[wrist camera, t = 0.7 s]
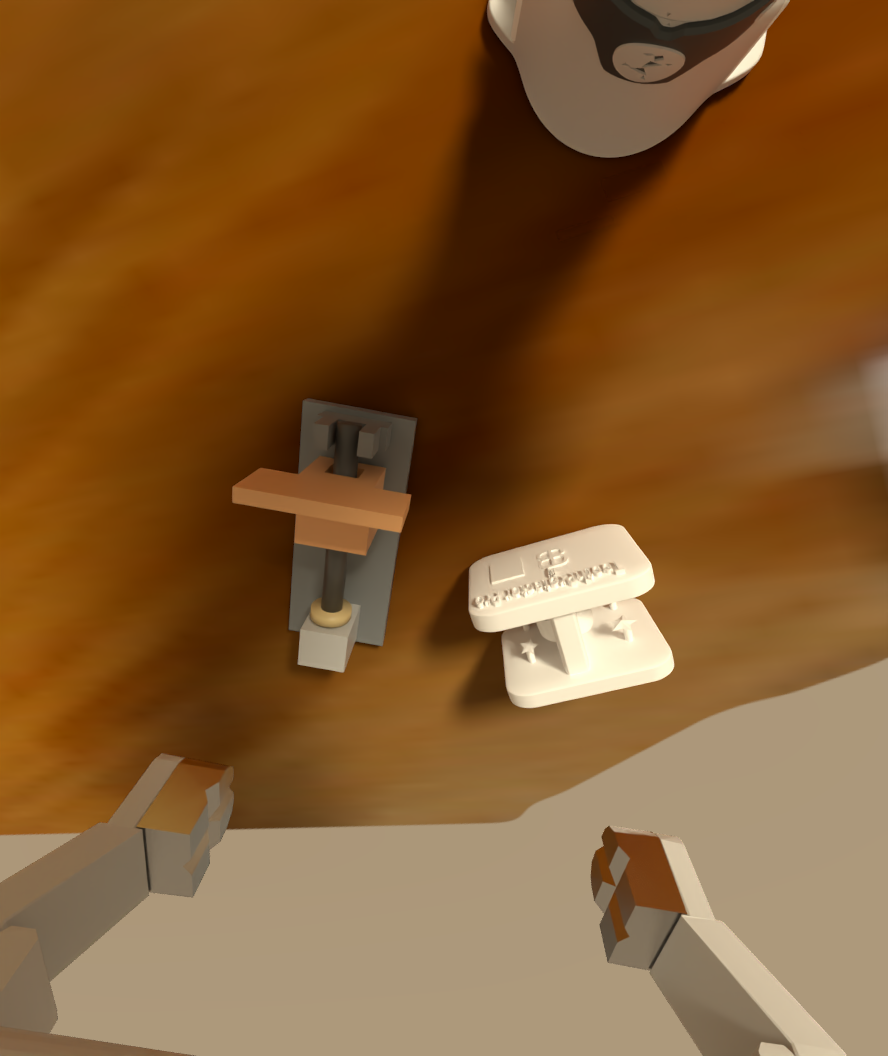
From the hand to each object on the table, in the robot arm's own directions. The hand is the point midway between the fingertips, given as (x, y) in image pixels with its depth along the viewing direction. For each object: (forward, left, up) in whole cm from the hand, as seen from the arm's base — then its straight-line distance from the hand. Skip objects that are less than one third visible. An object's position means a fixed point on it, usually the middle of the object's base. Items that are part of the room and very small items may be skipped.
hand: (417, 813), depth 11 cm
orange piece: (+6, -9, -36) cm, 37 cm away
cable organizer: (+12, +12, -38) cm, 42 cm away
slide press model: (+11, -9, -38) cm, 40 cm away
